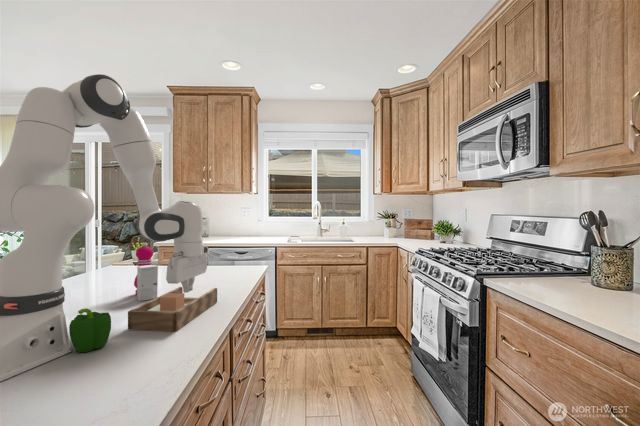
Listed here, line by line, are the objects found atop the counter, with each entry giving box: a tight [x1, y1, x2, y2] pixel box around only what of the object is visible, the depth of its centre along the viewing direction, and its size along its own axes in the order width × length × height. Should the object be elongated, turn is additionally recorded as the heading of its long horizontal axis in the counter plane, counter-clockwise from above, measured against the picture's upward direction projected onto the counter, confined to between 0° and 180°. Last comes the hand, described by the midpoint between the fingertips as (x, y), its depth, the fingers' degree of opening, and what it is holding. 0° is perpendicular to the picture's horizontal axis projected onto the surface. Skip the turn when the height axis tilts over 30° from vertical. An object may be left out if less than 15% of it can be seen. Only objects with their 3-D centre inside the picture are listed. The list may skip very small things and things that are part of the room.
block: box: [159, 292, 185, 311], centre depth 100 cm, size 5×5×4 cm
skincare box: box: [136, 264, 159, 302], centre depth 120 cm, size 6×4×12 cm
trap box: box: [127, 286, 218, 332], centre depth 103 cm, size 28×14×5 cm, turn 175°
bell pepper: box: [68, 307, 112, 353], centre depth 78 cm, size 8×8×10 cm
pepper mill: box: [133, 242, 154, 296], centre depth 126 cm, size 7×7×20 cm
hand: (187, 291), depth 109 cm, fingers closed
